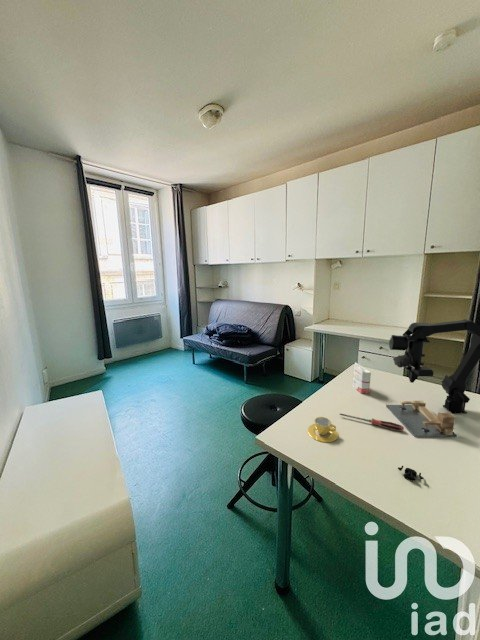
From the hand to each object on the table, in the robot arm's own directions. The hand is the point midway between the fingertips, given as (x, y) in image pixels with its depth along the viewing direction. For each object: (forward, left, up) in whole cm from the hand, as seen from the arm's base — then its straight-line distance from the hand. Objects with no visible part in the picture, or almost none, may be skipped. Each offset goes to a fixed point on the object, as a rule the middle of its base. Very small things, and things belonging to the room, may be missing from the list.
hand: (411, 382), depth 120 cm
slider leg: (+1, +20, -11) cm, 23 cm away
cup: (+46, +20, -12) cm, 52 cm away
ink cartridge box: (+16, -16, -12) cm, 26 cm away
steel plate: (+3, +12, -12) cm, 17 cm away
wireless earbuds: (+24, +42, -12) cm, 50 cm away
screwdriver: (+25, +14, -12) cm, 31 cm away
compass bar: (+1, +12, -11) cm, 16 cm away
